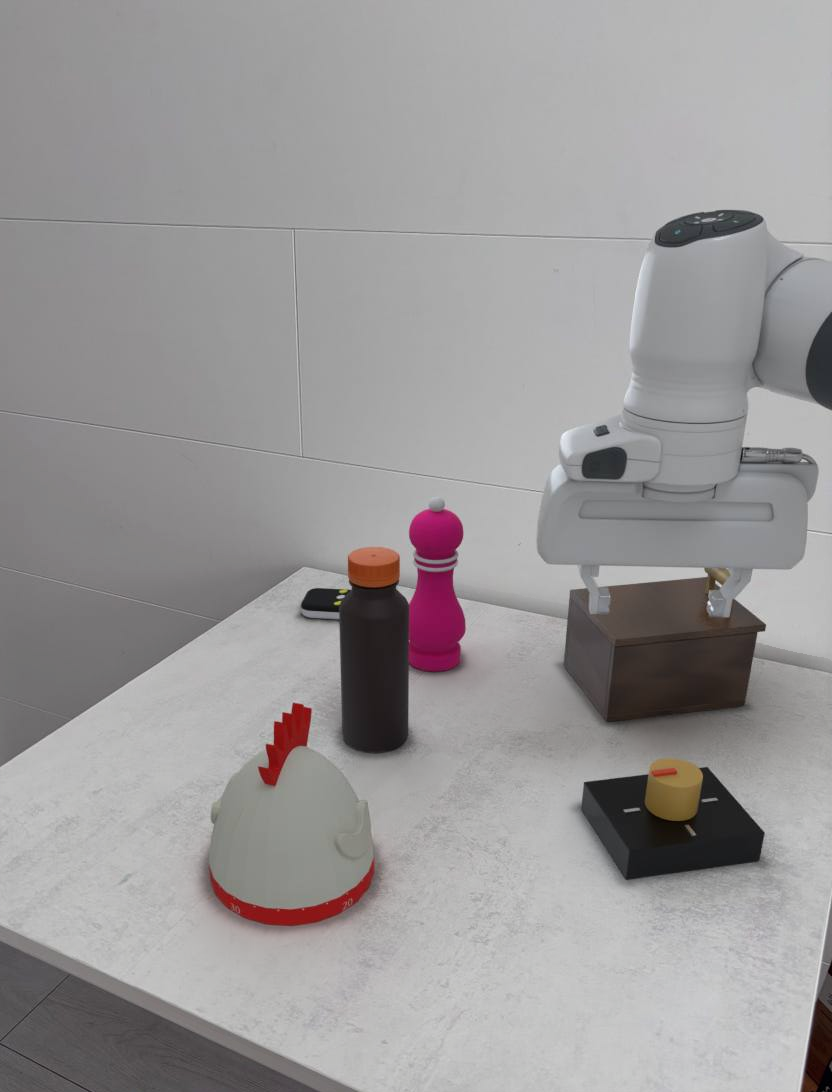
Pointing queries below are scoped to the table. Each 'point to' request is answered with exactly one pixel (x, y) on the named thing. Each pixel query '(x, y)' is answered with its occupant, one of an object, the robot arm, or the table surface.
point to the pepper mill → (435, 590)
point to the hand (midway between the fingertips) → (657, 613)
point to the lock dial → (673, 789)
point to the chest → (657, 671)
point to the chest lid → (667, 611)
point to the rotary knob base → (670, 828)
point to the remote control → (323, 603)
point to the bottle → (374, 652)
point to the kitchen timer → (290, 833)
